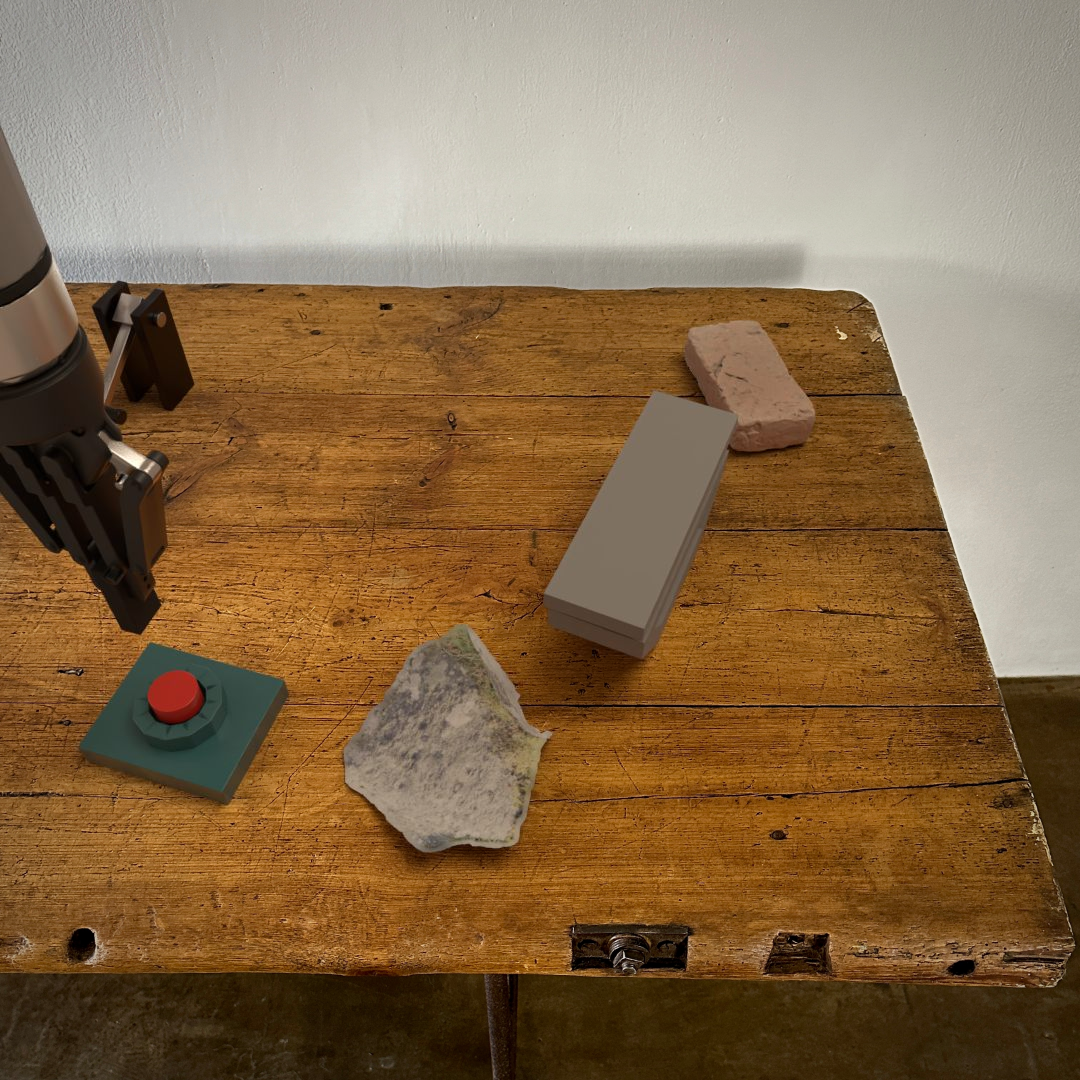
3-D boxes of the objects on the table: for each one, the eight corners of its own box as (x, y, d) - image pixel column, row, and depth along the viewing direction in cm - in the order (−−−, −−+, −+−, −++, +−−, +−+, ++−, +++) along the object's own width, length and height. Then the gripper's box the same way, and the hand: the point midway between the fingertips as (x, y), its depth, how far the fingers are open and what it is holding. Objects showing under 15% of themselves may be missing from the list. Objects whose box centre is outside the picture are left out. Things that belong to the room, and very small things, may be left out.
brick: (679, 356, 107) (684, 321, 103) (750, 346, 108) (758, 311, 105) (732, 461, 97) (740, 426, 93) (810, 448, 98) (821, 413, 94)
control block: (86, 761, 74) (68, 735, 71) (157, 656, 80) (143, 628, 77) (228, 805, 72) (216, 780, 69) (289, 694, 78) (280, 667, 75)
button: (144, 716, 72) (137, 704, 71) (170, 677, 75) (164, 664, 73) (187, 729, 72) (181, 717, 70) (212, 689, 74) (206, 677, 73)
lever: (127, 428, 91) (112, 420, 89) (80, 417, 92) (65, 409, 90) (168, 310, 93) (155, 299, 91) (122, 300, 94) (108, 289, 92)
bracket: (173, 449, 96) (135, 345, 86) (93, 430, 98) (47, 326, 88) (232, 374, 104) (203, 271, 94) (158, 357, 105) (121, 254, 95)
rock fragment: (463, 648, 82) (461, 609, 78) (605, 772, 74) (610, 735, 70) (320, 758, 74) (309, 721, 71) (460, 907, 67) (457, 875, 63)
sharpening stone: (641, 475, 95) (653, 390, 87) (718, 499, 93) (738, 414, 85) (540, 673, 80) (543, 593, 72) (630, 707, 78) (644, 628, 70)
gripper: (158, 325, 51) (252, 598, 69) (-53, 280, 53) (91, 556, 71) (74, 418, 46) (198, 685, 64) (-155, 363, 48) (27, 636, 66)
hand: (141, 617), depth 67 cm, fingers closed
